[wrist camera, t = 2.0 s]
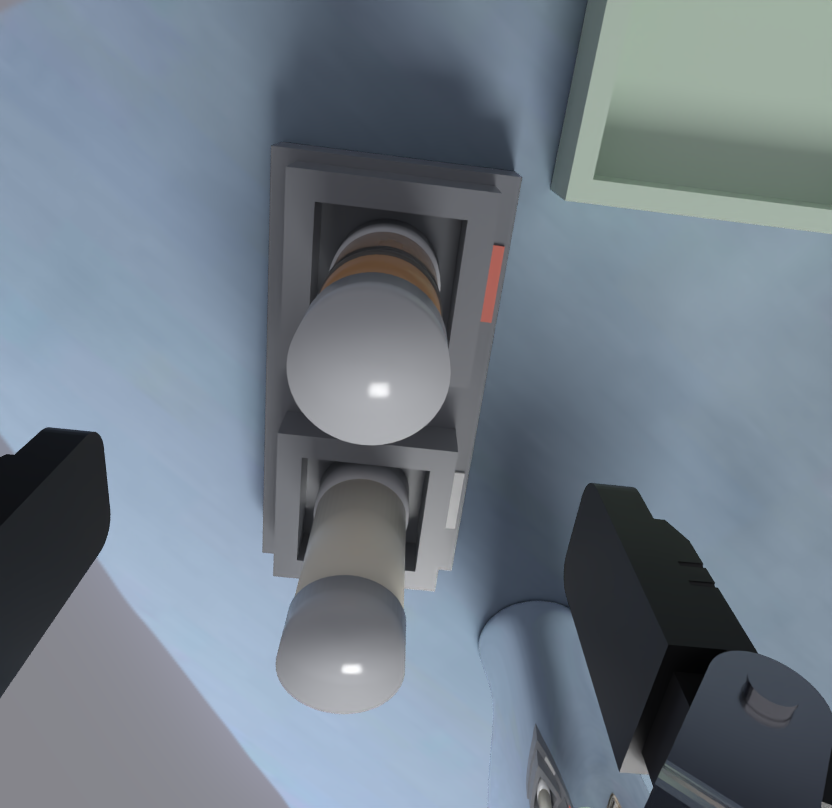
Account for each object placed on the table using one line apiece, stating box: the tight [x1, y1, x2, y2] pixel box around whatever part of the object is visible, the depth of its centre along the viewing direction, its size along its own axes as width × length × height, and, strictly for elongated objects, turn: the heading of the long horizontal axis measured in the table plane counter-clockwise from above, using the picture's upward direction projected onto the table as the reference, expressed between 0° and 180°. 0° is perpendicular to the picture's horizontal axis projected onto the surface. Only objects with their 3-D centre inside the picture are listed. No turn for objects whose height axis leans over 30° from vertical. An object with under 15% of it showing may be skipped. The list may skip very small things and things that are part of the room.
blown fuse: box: [287, 218, 451, 445], centre depth 20 cm, size 4×4×10 cm
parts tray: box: [550, 0, 832, 234], centre depth 22 cm, size 13×10×3 cm
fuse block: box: [262, 142, 522, 591], centre depth 27 cm, size 9×18×4 cm, turn 173°
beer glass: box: [478, 601, 650, 808], centre depth 29 cm, size 7×7×15 cm
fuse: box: [276, 461, 409, 714], centre depth 25 cm, size 4×4×10 cm
